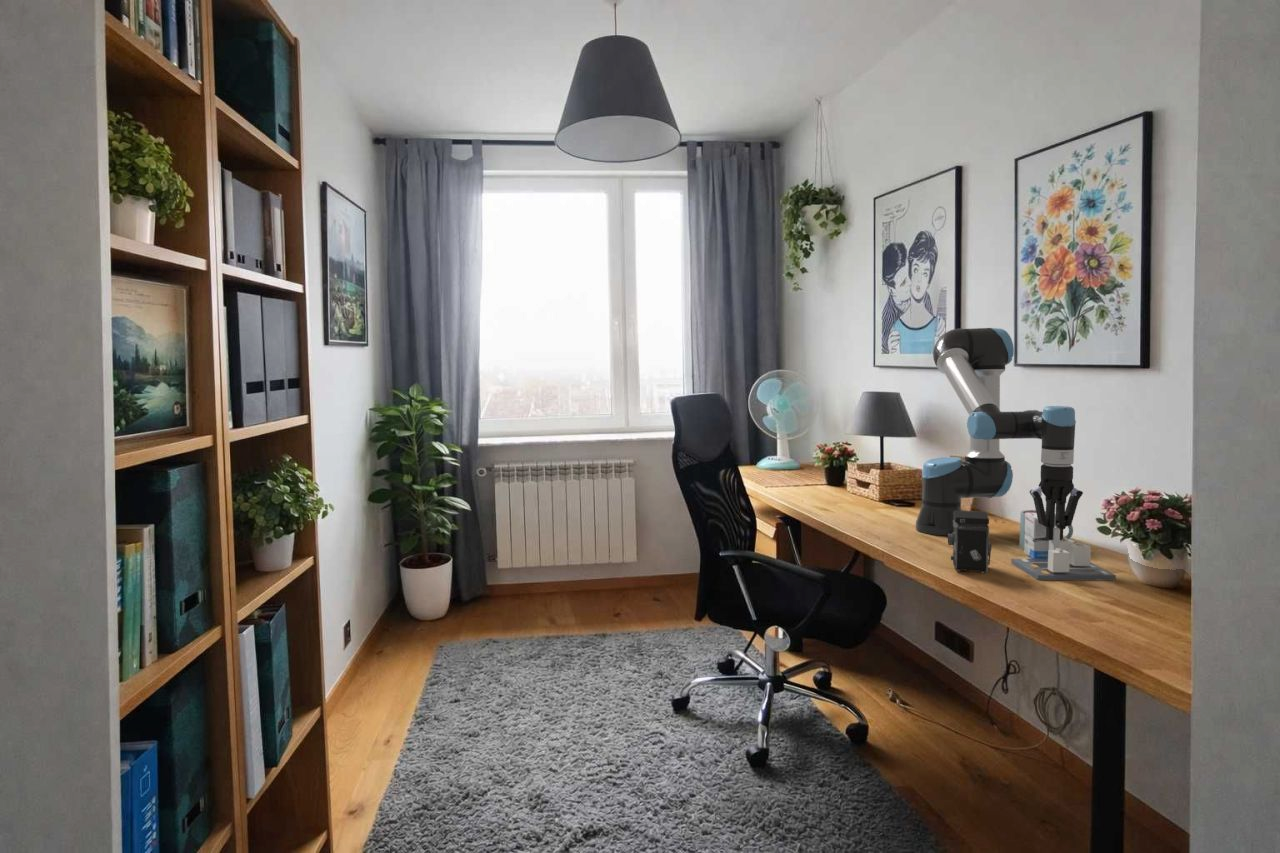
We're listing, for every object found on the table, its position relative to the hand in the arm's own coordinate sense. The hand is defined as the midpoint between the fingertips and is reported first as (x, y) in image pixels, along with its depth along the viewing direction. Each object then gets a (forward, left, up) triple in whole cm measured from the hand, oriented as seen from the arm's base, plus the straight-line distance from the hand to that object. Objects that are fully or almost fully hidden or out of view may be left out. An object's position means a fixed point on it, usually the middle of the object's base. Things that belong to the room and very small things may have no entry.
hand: (1053, 551), depth 197 cm
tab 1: (+11, -4, -2) cm, 12 cm away
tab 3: (+5, +4, -2) cm, 7 cm away
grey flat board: (+5, -1, -4) cm, 7 cm away
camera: (+2, -23, -4) cm, 24 cm away
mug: (-18, +7, -4) cm, 20 cm away
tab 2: (0, +3, -2) cm, 3 cm away
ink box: (-9, 0, -4) cm, 9 cm away
